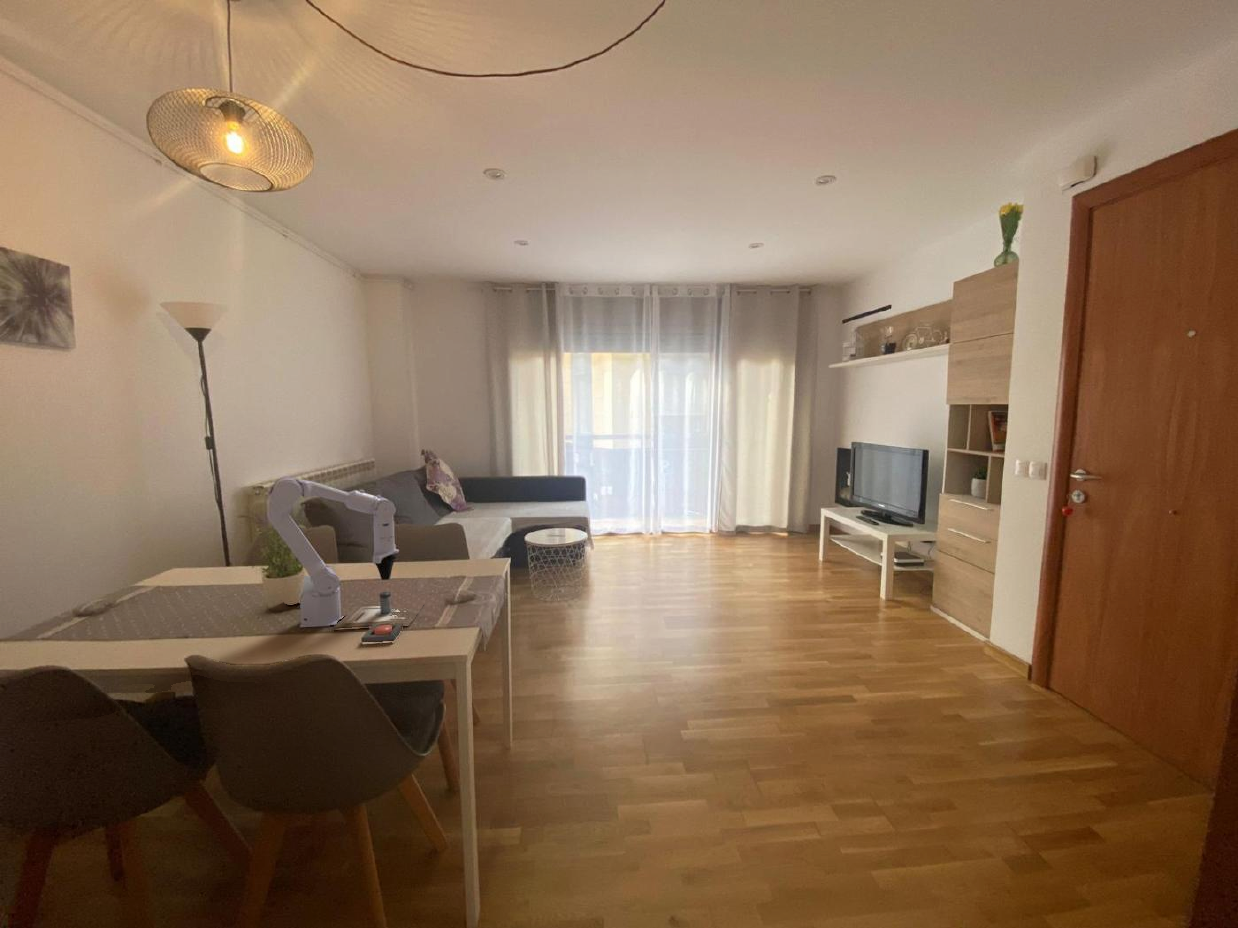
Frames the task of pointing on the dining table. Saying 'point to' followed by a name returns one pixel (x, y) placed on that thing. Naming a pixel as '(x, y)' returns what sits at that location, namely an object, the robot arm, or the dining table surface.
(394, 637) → the button housing
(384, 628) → the button
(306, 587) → the ceramic mug
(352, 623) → the drawing board
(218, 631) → the dining table surface
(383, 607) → the gray capped cylinder
